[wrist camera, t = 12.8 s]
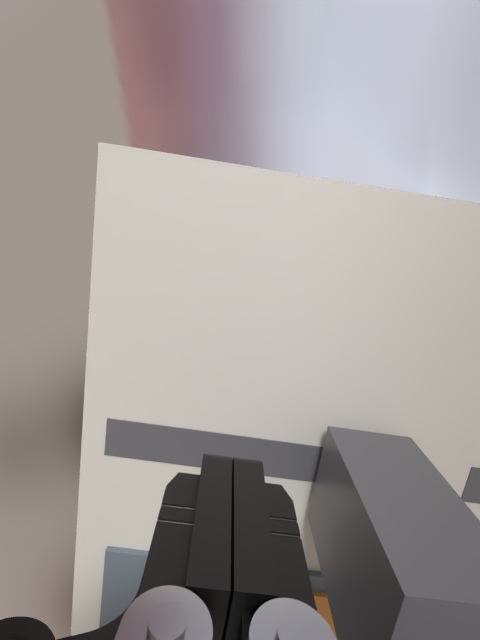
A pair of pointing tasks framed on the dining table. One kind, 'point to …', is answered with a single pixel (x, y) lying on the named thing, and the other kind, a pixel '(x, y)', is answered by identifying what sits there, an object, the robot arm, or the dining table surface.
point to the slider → (393, 542)
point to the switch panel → (262, 342)
